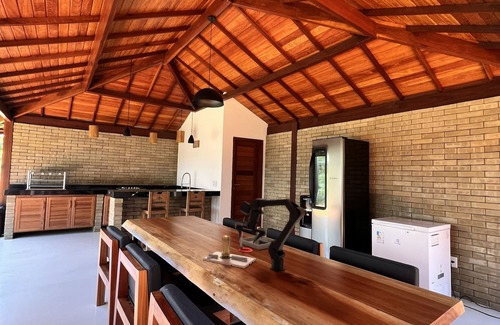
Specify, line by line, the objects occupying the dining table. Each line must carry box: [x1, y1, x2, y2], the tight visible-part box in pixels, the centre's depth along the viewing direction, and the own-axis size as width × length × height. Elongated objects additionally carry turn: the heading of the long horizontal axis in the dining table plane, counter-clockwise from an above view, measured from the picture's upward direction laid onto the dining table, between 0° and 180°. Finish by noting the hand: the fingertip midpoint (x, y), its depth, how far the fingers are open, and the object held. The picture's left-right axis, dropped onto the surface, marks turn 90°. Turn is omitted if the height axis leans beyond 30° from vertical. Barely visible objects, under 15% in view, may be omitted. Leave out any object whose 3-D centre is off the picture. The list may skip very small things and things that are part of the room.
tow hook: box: [237, 231, 253, 254], centre depth 187 cm, size 8×13×9 cm
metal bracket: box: [253, 235, 269, 245], centre depth 207 cm, size 14×6×15 cm
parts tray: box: [238, 236, 275, 251], centre depth 206 cm, size 22×22×3 cm
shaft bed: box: [202, 251, 257, 269], centre depth 166 cm, size 28×16×3 cm, turn 65°
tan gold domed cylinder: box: [221, 234, 231, 259], centre depth 167 cm, size 5×5×13 cm
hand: (246, 241), depth 165 cm, fingers open, 9 cm apart
